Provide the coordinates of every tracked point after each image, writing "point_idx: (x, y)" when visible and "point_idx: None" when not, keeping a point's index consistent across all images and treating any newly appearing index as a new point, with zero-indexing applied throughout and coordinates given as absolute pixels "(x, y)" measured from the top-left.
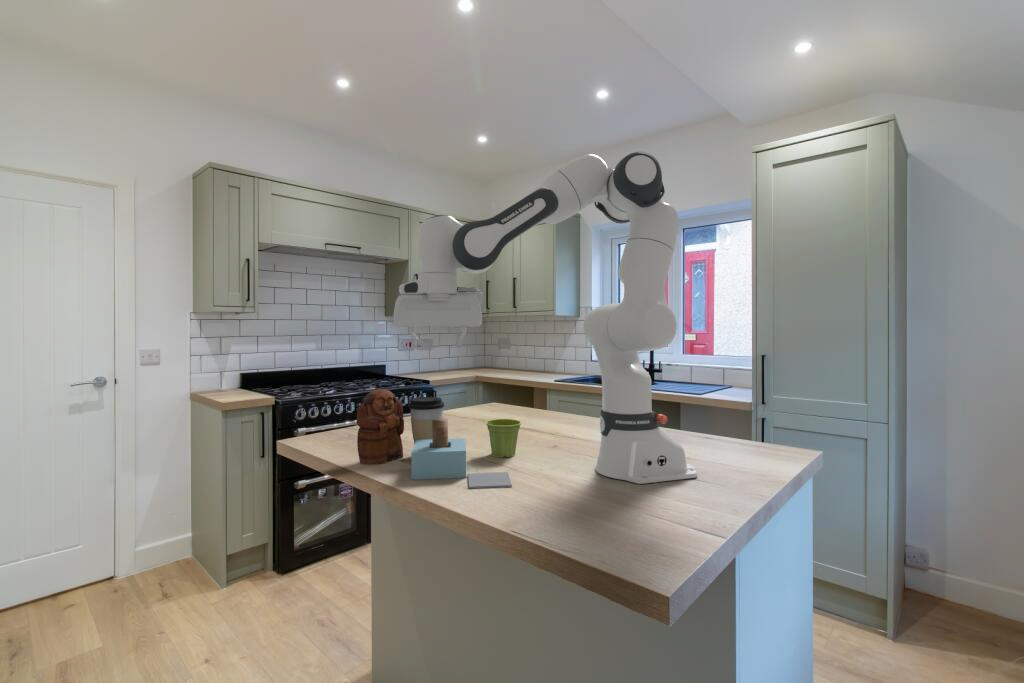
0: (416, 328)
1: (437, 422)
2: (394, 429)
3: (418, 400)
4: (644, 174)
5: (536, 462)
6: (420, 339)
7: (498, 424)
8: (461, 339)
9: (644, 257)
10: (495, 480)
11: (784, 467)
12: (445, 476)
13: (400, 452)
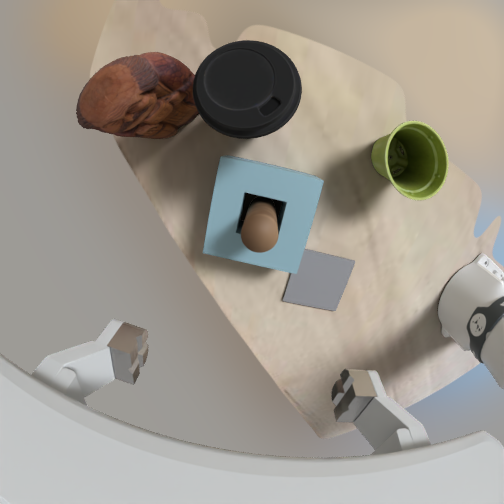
0: (67, 391)
1: (250, 249)
2: (175, 106)
3: (218, 93)
4: None
5: (413, 222)
6: (131, 383)
7: (413, 126)
8: (362, 419)
9: None
10: (324, 289)
11: None
12: None
13: None
